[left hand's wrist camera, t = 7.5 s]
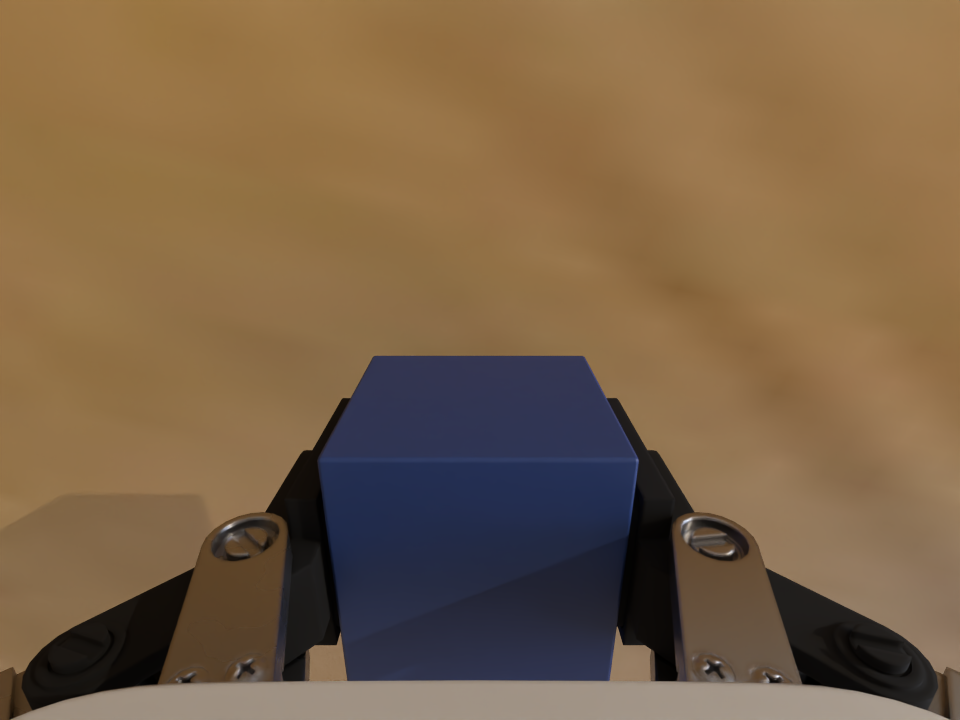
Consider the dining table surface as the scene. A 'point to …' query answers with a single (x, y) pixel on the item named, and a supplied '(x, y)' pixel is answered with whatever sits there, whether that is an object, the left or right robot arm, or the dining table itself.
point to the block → (478, 520)
